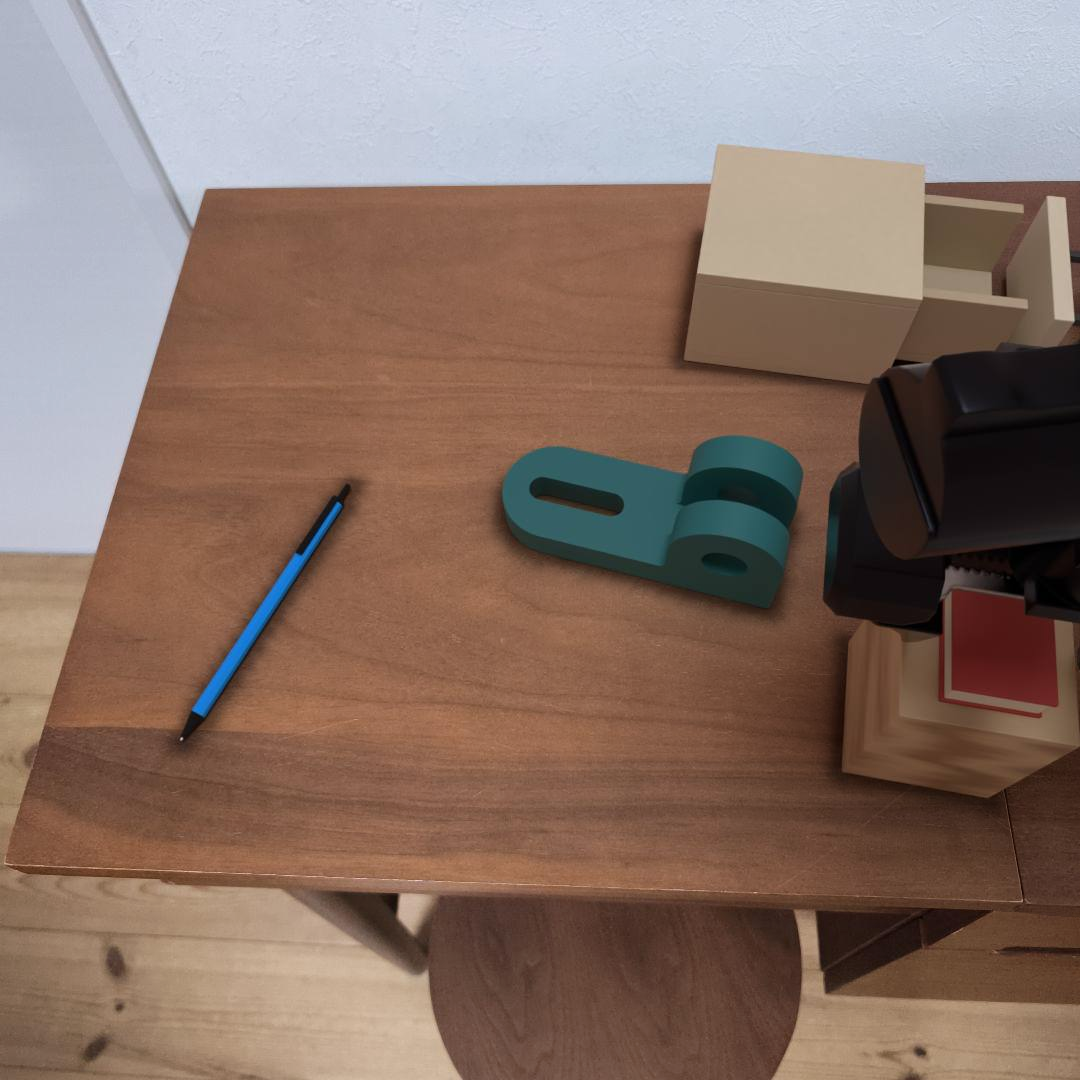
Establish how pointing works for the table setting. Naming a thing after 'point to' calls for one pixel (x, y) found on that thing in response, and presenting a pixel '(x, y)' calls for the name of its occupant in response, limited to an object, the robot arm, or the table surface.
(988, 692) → the book
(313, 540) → the pen
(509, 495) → the bracket
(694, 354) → the cabinet
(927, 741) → the stand
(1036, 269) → the drawer
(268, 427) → the table surface
